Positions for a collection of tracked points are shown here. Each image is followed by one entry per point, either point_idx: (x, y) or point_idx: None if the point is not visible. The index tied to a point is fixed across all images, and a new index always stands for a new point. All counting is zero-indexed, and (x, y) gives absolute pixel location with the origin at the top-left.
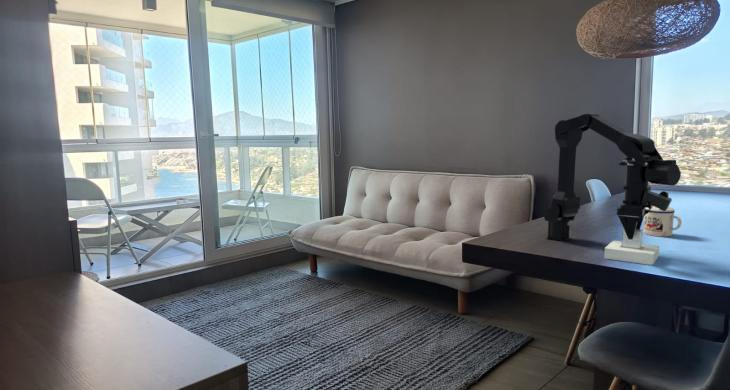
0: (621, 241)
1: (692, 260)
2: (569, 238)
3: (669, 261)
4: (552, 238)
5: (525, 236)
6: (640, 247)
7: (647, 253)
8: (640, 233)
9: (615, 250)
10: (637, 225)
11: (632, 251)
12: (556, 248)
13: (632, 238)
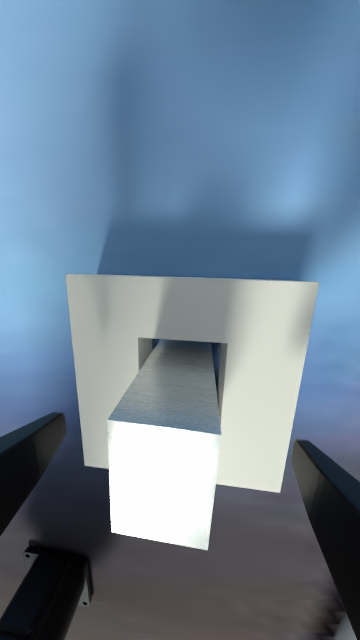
0: (89, 437)
1: (90, 125)
2: (45, 550)
3: (173, 221)
4: (89, 591)
5: (96, 637)
6: (184, 356)
7: (309, 313)
8: (217, 421)
9: (286, 448)
10: (5, 477)
11: (295, 384)
12: (200, 572)
13: (313, 446)
